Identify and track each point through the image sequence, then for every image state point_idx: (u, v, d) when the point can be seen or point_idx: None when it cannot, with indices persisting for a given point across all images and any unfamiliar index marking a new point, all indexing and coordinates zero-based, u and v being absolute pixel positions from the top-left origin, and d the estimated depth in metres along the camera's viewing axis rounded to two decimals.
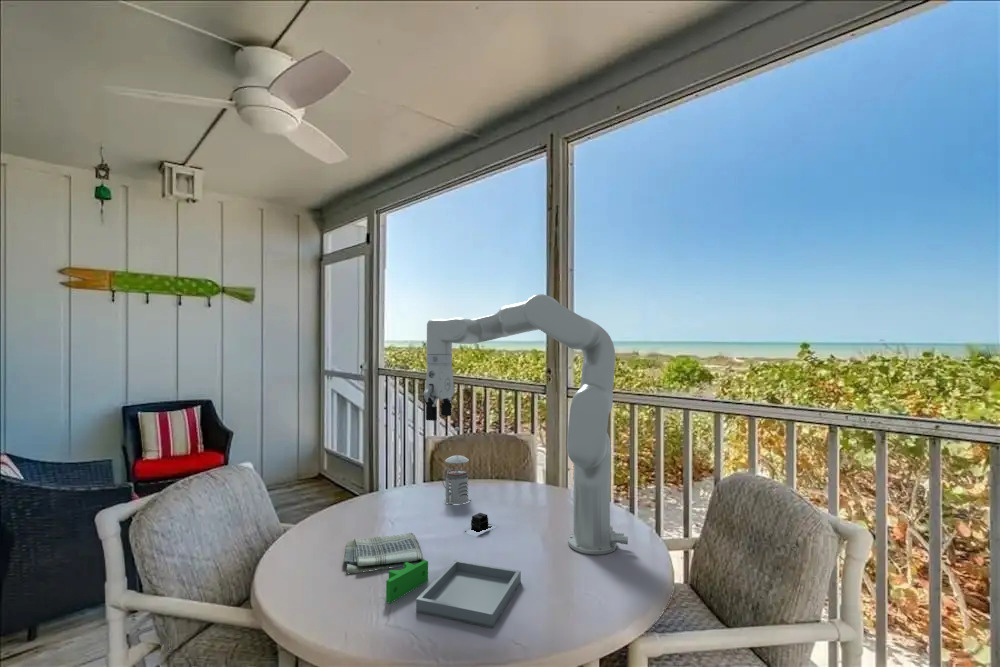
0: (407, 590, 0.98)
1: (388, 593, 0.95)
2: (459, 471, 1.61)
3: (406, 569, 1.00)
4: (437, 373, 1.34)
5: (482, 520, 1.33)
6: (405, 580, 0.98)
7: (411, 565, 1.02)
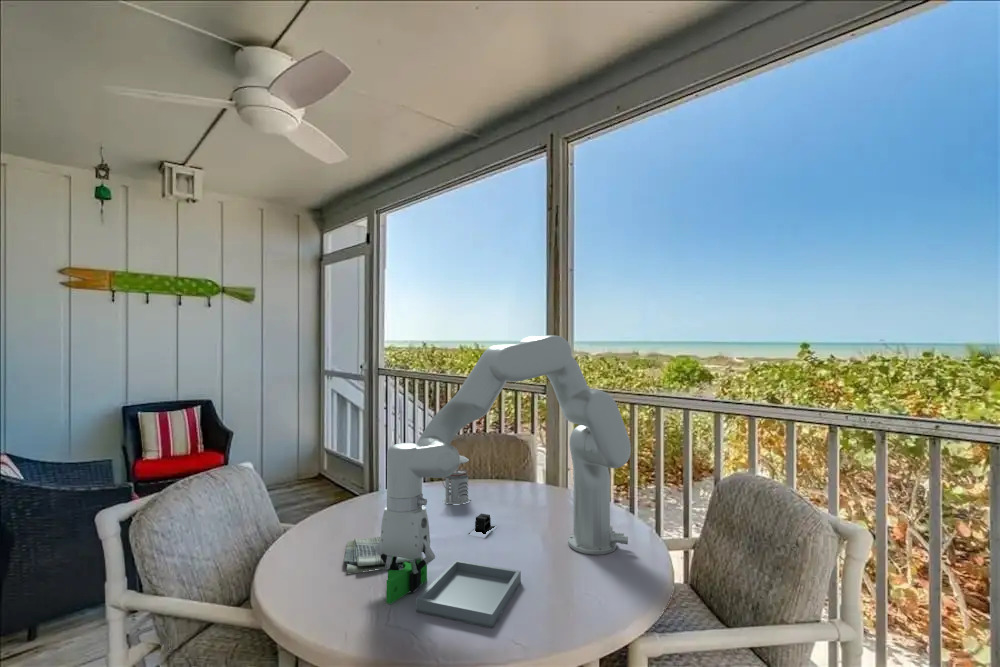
0: (407, 590, 0.98)
1: (388, 593, 0.94)
2: (459, 471, 1.61)
3: (405, 569, 1.00)
4: (427, 518, 1.01)
5: (485, 520, 1.32)
6: (405, 580, 0.98)
7: (410, 565, 1.01)
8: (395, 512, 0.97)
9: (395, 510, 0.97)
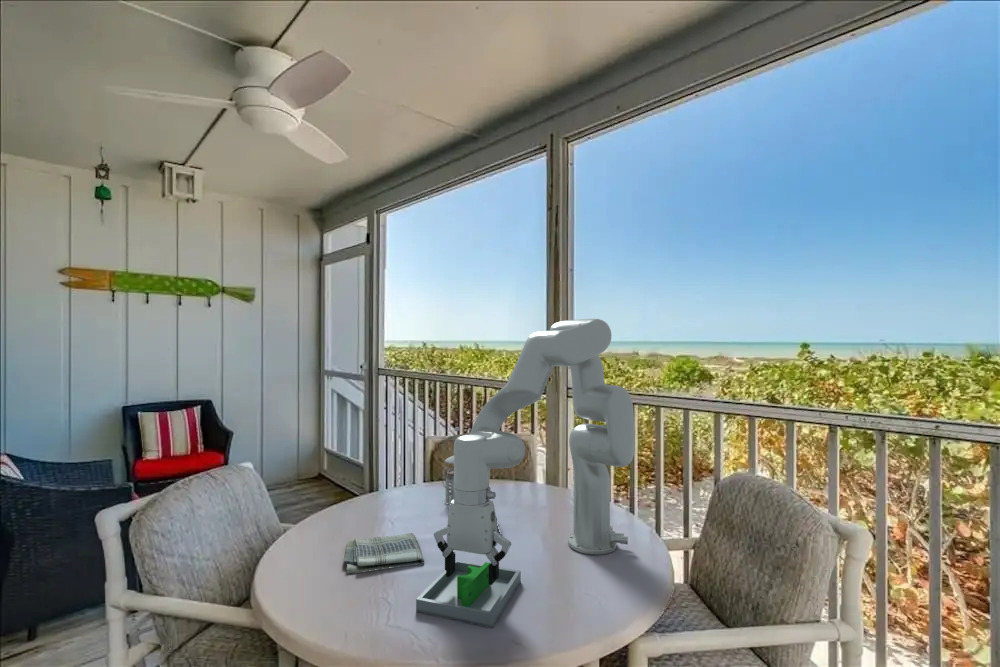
0: (477, 594, 0.96)
1: (464, 599, 0.91)
2: None
3: (474, 573, 0.97)
4: None
5: None
6: (476, 584, 0.95)
7: (476, 568, 0.99)
8: (464, 505, 0.94)
9: (464, 503, 0.94)
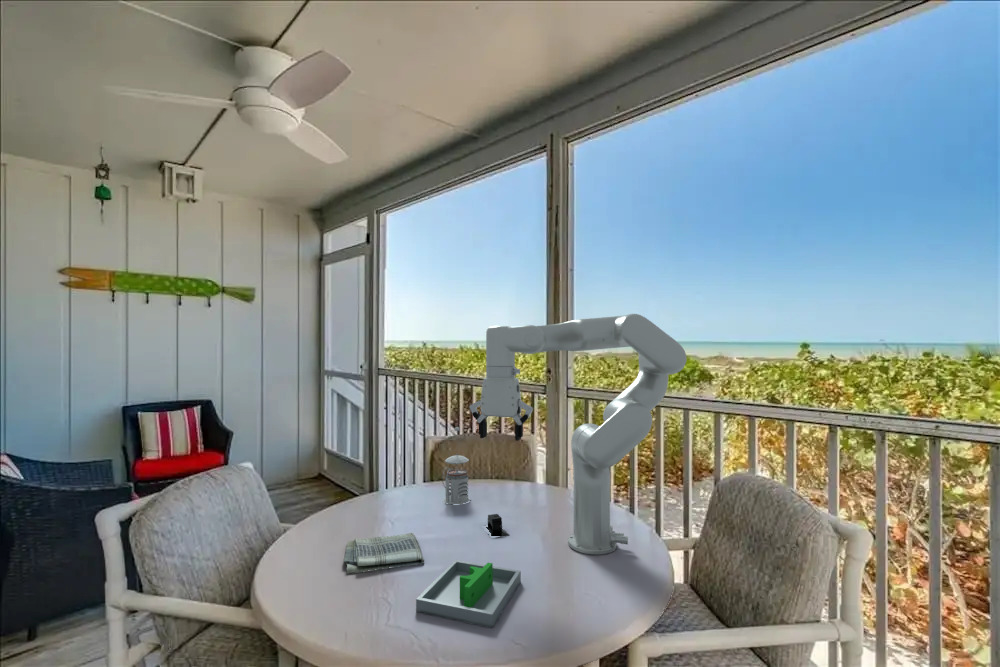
0: (480, 595, 0.95)
1: (467, 599, 0.91)
2: (459, 471, 1.61)
3: (476, 573, 0.97)
4: (519, 387, 1.22)
5: None
6: (478, 585, 0.95)
7: (478, 569, 0.98)
8: (495, 377, 1.18)
9: (495, 376, 1.18)
